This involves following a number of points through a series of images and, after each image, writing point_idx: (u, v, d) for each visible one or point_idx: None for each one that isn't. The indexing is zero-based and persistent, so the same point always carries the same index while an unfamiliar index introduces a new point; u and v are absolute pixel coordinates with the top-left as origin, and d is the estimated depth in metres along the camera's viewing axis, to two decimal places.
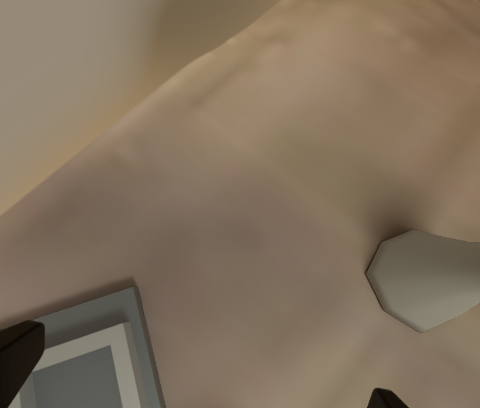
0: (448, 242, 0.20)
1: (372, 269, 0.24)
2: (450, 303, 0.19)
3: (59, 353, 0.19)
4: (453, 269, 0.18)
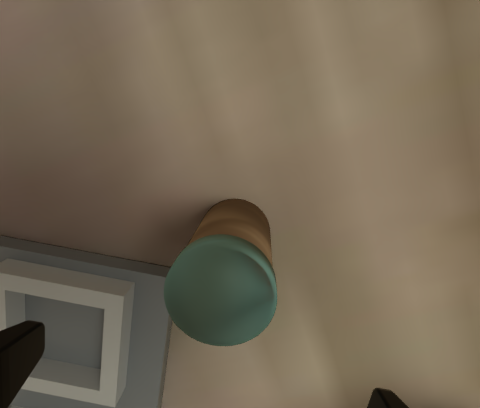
0: None
1: None
2: None
3: None
4: None
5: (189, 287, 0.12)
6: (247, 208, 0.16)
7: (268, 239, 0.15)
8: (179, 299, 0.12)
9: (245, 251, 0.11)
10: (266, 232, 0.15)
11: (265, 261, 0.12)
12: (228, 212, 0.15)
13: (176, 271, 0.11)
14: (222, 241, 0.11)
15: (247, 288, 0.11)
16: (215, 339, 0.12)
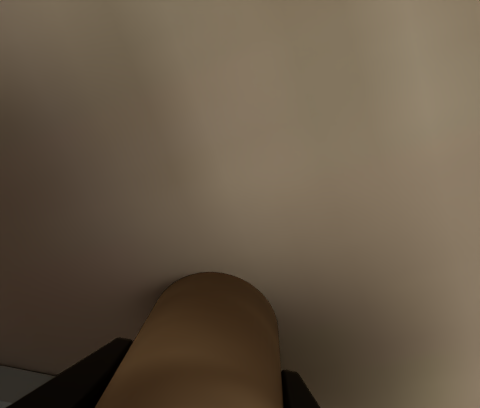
0: None
1: None
2: None
3: None
4: None
5: None
6: (234, 305, 0.08)
7: (277, 392, 0.07)
8: None
9: None
10: (273, 370, 0.07)
11: None
12: (188, 333, 0.07)
13: None
14: None
15: None
16: None
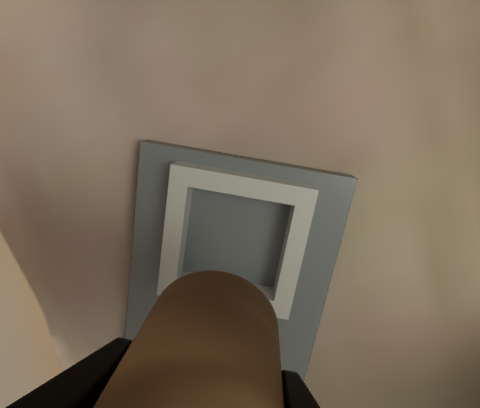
0: None
1: None
2: None
3: (171, 239, 0.17)
4: None
5: None
6: (234, 303, 0.08)
7: (278, 390, 0.07)
8: None
9: None
10: (273, 368, 0.07)
11: None
12: (189, 331, 0.07)
13: None
14: None
15: None
16: None
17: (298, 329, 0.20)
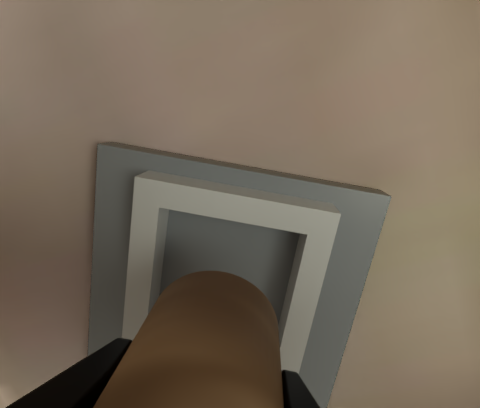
0: None
1: None
2: None
3: (139, 277, 0.13)
4: None
5: None
6: (234, 303, 0.08)
7: (278, 390, 0.07)
8: None
9: None
10: (273, 368, 0.07)
11: None
12: (188, 331, 0.07)
13: None
14: None
15: None
16: None
17: (308, 387, 0.15)
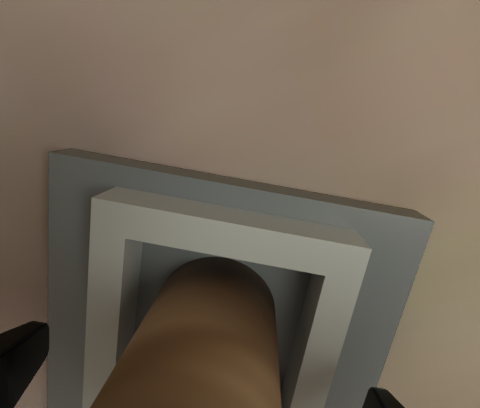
0: None
1: None
2: None
3: (101, 327, 0.10)
4: None
5: None
6: (235, 284, 0.09)
7: (274, 357, 0.08)
8: None
9: None
10: (270, 339, 0.08)
11: None
12: (195, 305, 0.08)
13: None
14: None
15: None
16: None
17: None
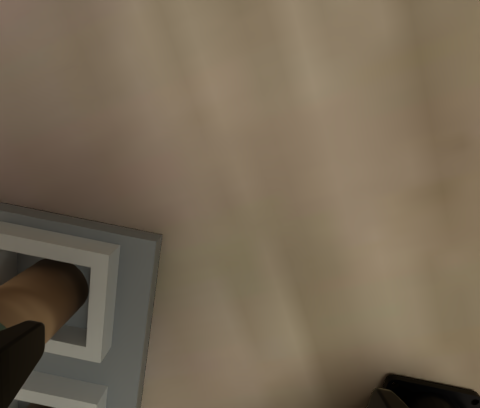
0: None
1: None
2: None
3: None
4: None
5: None
6: (51, 271, 0.19)
7: (55, 302, 0.17)
8: None
9: None
10: (56, 295, 0.18)
11: None
12: (20, 279, 0.17)
13: None
14: None
15: None
16: None
17: (124, 367, 0.22)
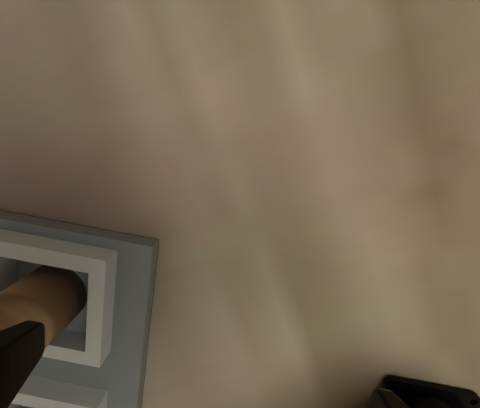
0: None
1: None
2: None
3: None
4: None
5: None
6: (50, 277, 0.19)
7: (53, 308, 0.18)
8: None
9: None
10: (55, 301, 0.18)
11: None
12: (19, 285, 0.18)
13: None
14: None
15: None
16: None
17: (124, 372, 0.22)
